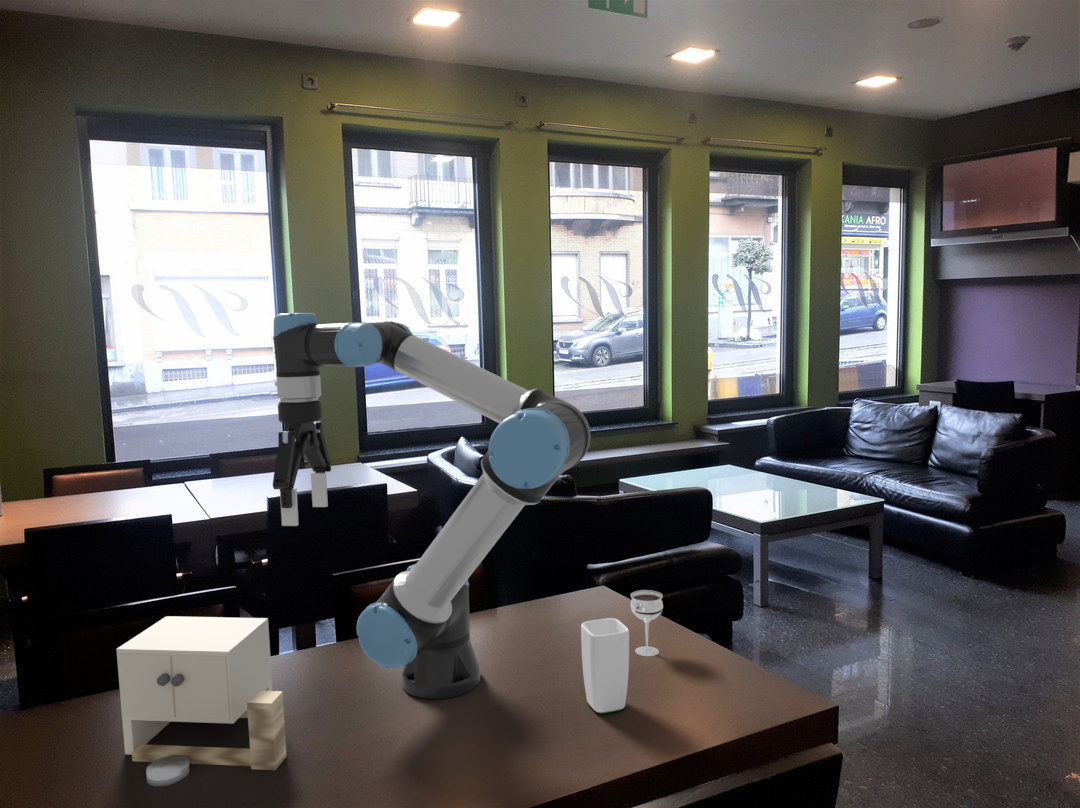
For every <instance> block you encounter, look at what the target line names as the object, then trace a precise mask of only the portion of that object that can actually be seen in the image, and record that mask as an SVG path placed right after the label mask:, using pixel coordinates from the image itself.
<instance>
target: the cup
mask: <svg viewBox="0 0 1080 808" xmlns="http://www.w3.org/2000/svg"><path fill="white" fill-rule="evenodd" d="M580 626H581V627H580V628H581V629H580V631H581V632H580V634H581V636H580V637H581V643H580V644H581V660H582V673H583V683H584V689H585V694H586V695H585V696H586V701H587V703H588V704H589V705H590V707H591V708H592V709H593V711H595V712H596V713H598V714H607V713H612V712H613V713H614V712H618V711H622V709H624V708H625V706H626V702H627V701H626V700H627V692H628V682H629V672H630V671H629V666H630V630H629V628H628V627H627V626H626V625H625V624H624V623H622V622H621V620H619V619H617V618H613V617H608V618H600V619H593V620H587V621H584V622H582V623H581V625H580Z"/></svg>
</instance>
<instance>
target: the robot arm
mask: <svg viewBox="0 0 1080 808" xmlns="http://www.w3.org/2000/svg"><path fill="white" fill-rule="evenodd" d="M272 340H273V347H274V348H273V349H274V359H275V369H276V371H275V372H276V373H275V374H276V375H275V376H276V381H275V382H274V386H275V387H276V391H277V393H276V395H277V398H278V399H279V400H281V401H279V402H278V403H277V413H278V421H279V422H280V423H282V424H286V425H287V428H286V431H285V430H279V431H278V438H277V439H278V446H277V452H276V453H277V454H276V458H275V466H274V474H273V480H272V488H273V490H279V499H280V501H279V503H280V514H281V515H280V516H281V517H280V518H281V526H282V527H298V526H299V524H300V523H299V509H298V505H299V504H298V489H297V488H298V487H295V483H296V479H297V475H298V471H299V469H300V463H301V460H302V457H303V456H305V457H306V458H307V461H308V463H309V465H310V467H311V469H312V471H313V472H311V473H310V483H311V501H312V508H327V507H328V506H329V502H328V501H329V500H328V485H327V481H328V480H327V473H329V472H331V471H332V466H331V463H332V462H331V459H330V456H329V451H328V448H327V444H326V439H325V435H324V432H323V431H324V430H323V424H322V423H323V422H322V419H323V411H322V409H323V408H322V407H323V406H322V401H321V400H320V399H319V398H320V397H321V396H322V383H321V381H322V380H321V374H320V370H321V367H339V368H341V367H345V368H346V367H350V368H362V367H369V366H373V365H375V364H381V365H384V366H385V367H386V368H387V367H388V368H390V369H391V370H393V371H396V372H398V373H400V374H402V375H404V376H405V377H408V378H409V379H411V380H413V381H415V382H417V383H419V384H421V385H423V386H426V387H427V388H429V389H431V390H432V391H435V392H437V393H439V394H441V395H443V396H445V397H446V398H448V399H451V400H452V401H454V402H457V403H459V404H461V405H462V406H465V407H466V408H468V409H470V410H473V411H475V412H476V413H478V414H480V415H482V416H484V417H485V418H486V417H487V418H488V419H490V420H492V421H494V422H495V423H498V425H497V426H496V428H495V429H494V430H493V432H492V434H491V435H490V439H489V443H488V447H487V448H488V449H487V452H486V453H485V454H484V455H483V457H482V459H481V460H480V467H481V469H482V470H481V471H482V474H481V476H480V477H479V478H478V479H477V480H476V482H475V484H474V485H473V487H472V488H471V489H470V490H469V492H468V493H467V495H466V496H465V497H464V499H463V500H461V503H460V504H459V505H458V507H457V508H456V509H455V511H453V513H452V514H451V516H450V517H449V518H448V521H447V522H446V523H445V525H444V526H443V527H442V528H441V529H440V531H439V532H438V534H437V535H436V537H435V538H434V539H433V540H432V542H431V543H430V544H429V546H428V547H427V549H426V550H425V551H424V553H423V555H422V556H421V557H420V558H419V560H418V561H417V562H416V563H415V564H412V565H410V566H408V567H407V568H406V570H405V571H400V572H399V573H398V574H397V575H396V576H395V577H394V579H393V580H392V582H391V583H390V584H389V586H388V587H387V588H386V590H385V591H384V592H383V594H381V596H380V598H378V599H377V601H375V602H373V603H371V604H368V606H366V607H365V609H364V610H363V611H362V612H361V613H360V615H359V616H358V619H357V623H356V635H357V636H358V637H357V638H358V643H359V645H360V647H361V650H362V651H363V653H364V654H365V655H366V656H367V658H368V659H370V661H372V662H373V663H375V664H376V665H378V666H380V667H381V668H385V669H393V670H394V669H400V668H402V669H401V686H402V689H403V691H405V692H406V693H408V694H409V695H410V696H414V697H417V698H421V699H430V700H437V699H447V698H453V697H457V696H458V697H459V696H460V695H463V694H466V693H468V692H470V691H471V690H473V689H475V687H477V686H478V685H479V684H480V682H481V667H480V663H479V660H478V658H477V655H476V653H475V650H474V647H473V645H472V642H471V630H470V629H471V628H470V624H471V623H470V622H471V621H470V593H469V590H470V583H469V578H470V577H471V575H473V573H474V572H475V570H476V569H477V568H478V567H479V565H480V564H481V563H482V562H483V560H485V558H486V556H487V555H488V553H489V552H490V551H491V550H492V548H493V547H494V546H495V545H496V544H497V542H498V541H499V540H500V538H501V537H502V536H503V534H504V533H505V531H506V530H507V529H508V528H509V526H510V525H511V524H512V522H513V521H514V520H515V519H516V517H518V515H519V514H520V512H521V511H522V510H523V508H524V507H525V506H534V505H536V504H539V503H540V502H541V500H542V499H543V498H544V496H545V495H546V494H547V492H549V490H551V487H552V486H553V485H554V484H555V483H556V482H557V480H558V479H559V478H560V476H561V475H562V474H563V473H564V472H565V471H567V470H569V469H572V468H573V467H575V466H576V465H578V464H579V463H580V462H581V461H582V460H583V459H584V457H585V456H586V454H587V453H588V450H589V448H590V443H591V438H592V437H591V436H592V435H591V428H590V425H589V422H588V420H587V418H586V417H585V415H584V414H583V412H582V411H580V409H579V408H578V407H576V406H575V405H573V404H571V403H570V402H567V401H565V400H563V399H561V398H559V397H557V396H554V395H553V394H550V393H547V392H545V391H543V390H541V389H540V388H533V389H530V390H528V389H526V388H525V387H522V386H520V385H518V384H515V383H513V382H511V381H510V380H509V379H505V378H503V377H501V376H499V375H498V374H495V373H493V372H490V371H488V369H485V368H483V367H481V366H478V365H476V364H475V363H472V362H470V361H468V360H466V359H464V358H462V357H460V356H458V355H456V354H453V353H452V352H449V351H447V350H445V349H444V348H441V347H439V346H437V345H435V344H433V343H431V342H429V341H427V340H425V339H422V338H421V337H419V336H417V335H414V334H413V332H412V331H411V329H409V327H408V326H407V325H406V324H403V323H400V322H395V321H387V320H386V321H381V322H380V321H379V322H377V321H376V322H360V321H356V322H355V321H354V322H339V323H337V322H336V323H319V321H318V317H317V315H316V314H315V313H313V312H295V313H292V312H291V313H289V312H288V313H285V312H284V313H278V314H276V315H275V316H274V318H273V336H272Z"/></svg>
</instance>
